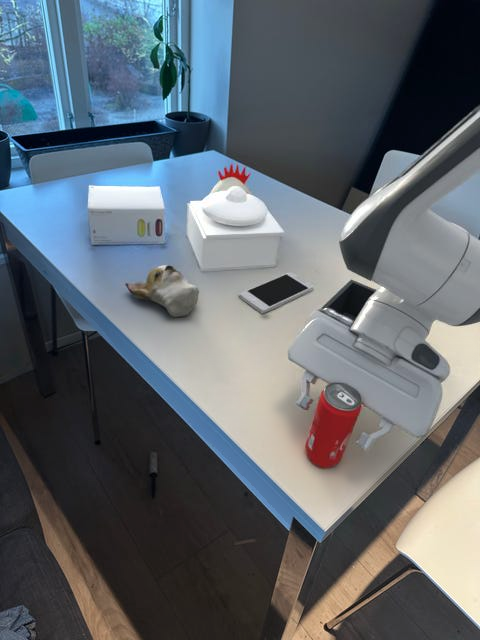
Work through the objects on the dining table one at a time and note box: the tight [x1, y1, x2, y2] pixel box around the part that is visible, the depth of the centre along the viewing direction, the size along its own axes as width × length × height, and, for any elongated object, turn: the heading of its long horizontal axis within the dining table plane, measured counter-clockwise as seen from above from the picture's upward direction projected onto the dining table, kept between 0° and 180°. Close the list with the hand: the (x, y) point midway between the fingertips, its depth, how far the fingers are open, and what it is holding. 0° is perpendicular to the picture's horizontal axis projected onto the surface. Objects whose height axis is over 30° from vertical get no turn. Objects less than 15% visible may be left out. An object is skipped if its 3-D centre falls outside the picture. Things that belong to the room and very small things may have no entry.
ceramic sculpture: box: [124, 264, 200, 318], centre depth 85 cm, size 11×9×15 cm
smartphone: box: [239, 271, 315, 314], centre depth 93 cm, size 7×16×1 cm, turn 132°
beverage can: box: [305, 382, 363, 469], centre depth 59 cm, size 5×5×12 cm
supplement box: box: [87, 184, 166, 246], centre depth 106 cm, size 17×13×9 cm
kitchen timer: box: [209, 163, 253, 195], centre depth 115 cm, size 14×14×15 cm
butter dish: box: [186, 187, 285, 272], centre depth 102 cm, size 18×18×16 cm
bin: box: [320, 279, 377, 321], centre depth 81 cm, size 14×14×8 cm
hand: (330, 426), depth 58 cm, fingers open, 8 cm apart
